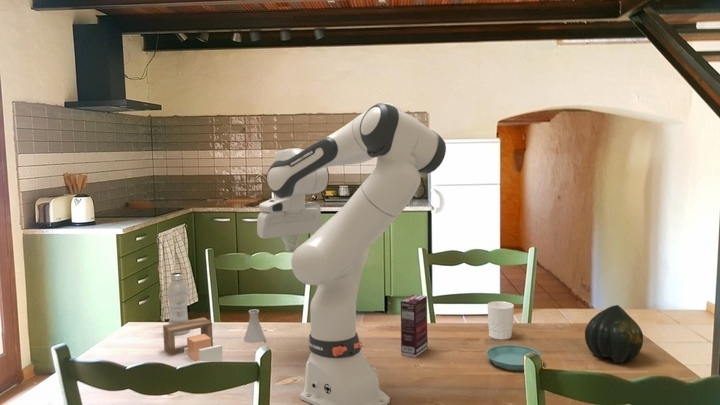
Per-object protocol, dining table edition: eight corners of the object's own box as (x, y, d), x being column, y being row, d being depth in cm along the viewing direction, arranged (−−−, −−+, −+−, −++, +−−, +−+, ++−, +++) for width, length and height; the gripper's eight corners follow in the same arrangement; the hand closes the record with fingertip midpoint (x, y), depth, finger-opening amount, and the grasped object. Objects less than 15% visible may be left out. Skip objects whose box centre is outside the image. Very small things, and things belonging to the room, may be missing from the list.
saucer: (476, 358, 170) (476, 349, 169) (520, 351, 175) (520, 342, 175) (506, 377, 156) (506, 367, 156) (553, 369, 161) (553, 359, 161)
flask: (269, 338, 188) (268, 307, 187) (263, 346, 180) (262, 314, 179) (246, 338, 188) (245, 307, 187) (239, 346, 181) (238, 314, 180)
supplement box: (413, 346, 180) (413, 293, 178) (428, 348, 177) (428, 295, 175) (400, 355, 172) (399, 300, 170) (415, 358, 170) (415, 303, 168)
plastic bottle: (164, 337, 190) (161, 275, 187) (176, 331, 196) (173, 270, 194) (182, 339, 188) (179, 276, 186) (194, 332, 194) (191, 271, 192)
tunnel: (213, 350, 178) (211, 322, 177) (171, 359, 171) (169, 330, 170) (205, 344, 183) (204, 317, 182) (164, 353, 176) (163, 325, 175)
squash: (600, 350, 158) (632, 305, 160) (566, 335, 173) (596, 293, 175) (634, 381, 162) (665, 336, 164) (598, 363, 176) (627, 322, 178)
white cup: (482, 334, 189) (482, 303, 188) (502, 330, 192) (502, 300, 191) (497, 342, 182) (498, 309, 181) (518, 338, 185) (519, 306, 184)
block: (211, 357, 169) (210, 338, 169) (194, 361, 166) (193, 341, 166) (204, 352, 173) (204, 333, 173) (187, 356, 170) (187, 337, 170)
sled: (226, 368, 163) (225, 347, 162) (203, 374, 159) (202, 353, 159) (205, 352, 175) (204, 333, 174) (183, 357, 171) (182, 338, 171)
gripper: (314, 200, 185) (315, 244, 186) (253, 205, 173) (255, 252, 174) (325, 201, 180) (326, 247, 181) (263, 207, 168) (265, 256, 169)
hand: (291, 250), depth 178 cm, fingers closed
